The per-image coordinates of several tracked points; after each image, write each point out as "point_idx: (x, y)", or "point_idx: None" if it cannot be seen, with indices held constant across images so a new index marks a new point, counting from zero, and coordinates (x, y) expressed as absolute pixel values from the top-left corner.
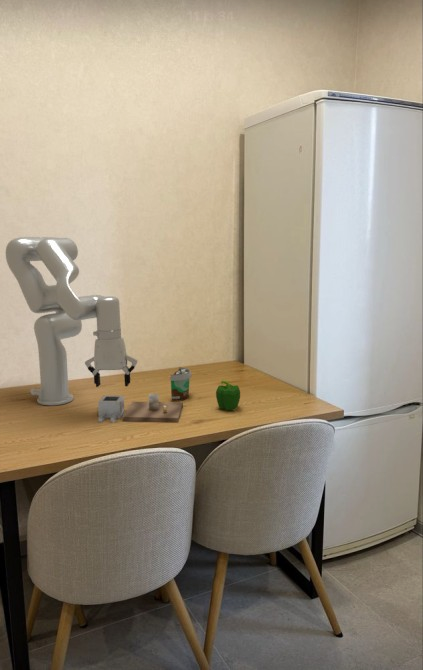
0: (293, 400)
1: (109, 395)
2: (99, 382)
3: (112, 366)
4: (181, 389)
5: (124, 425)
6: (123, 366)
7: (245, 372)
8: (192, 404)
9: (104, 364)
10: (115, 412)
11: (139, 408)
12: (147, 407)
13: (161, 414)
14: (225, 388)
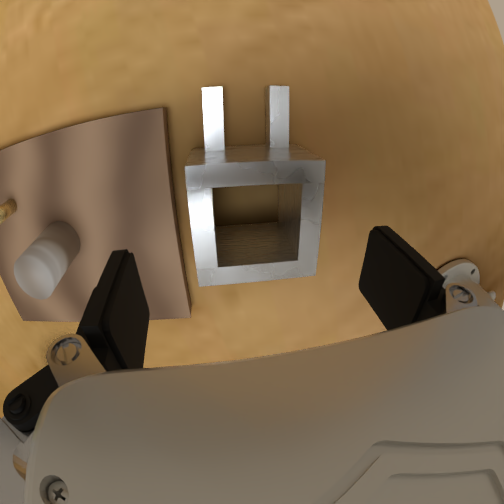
0: None
1: (282, 278)
2: (372, 279)
3: (279, 410)
4: None
5: (143, 60)
6: (44, 413)
7: None
8: (19, 326)
9: (457, 396)
10: (213, 151)
11: (122, 241)
12: (95, 258)
13: (15, 185)
14: None
